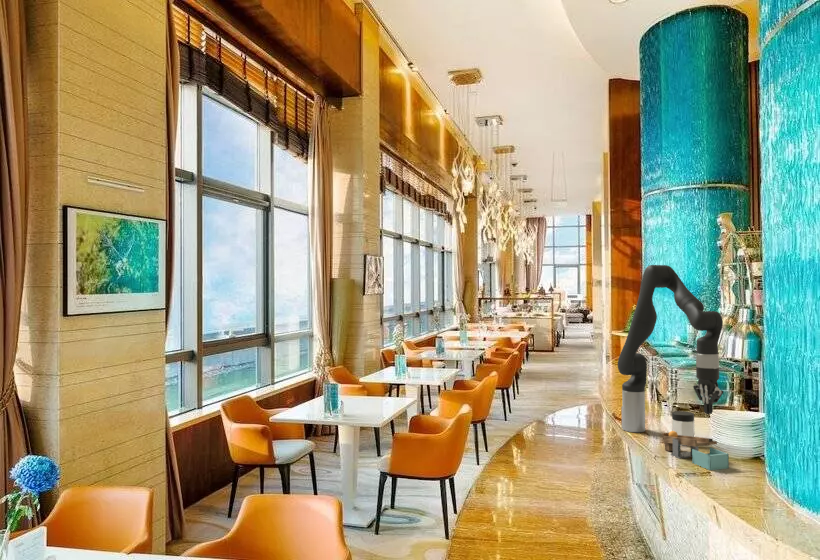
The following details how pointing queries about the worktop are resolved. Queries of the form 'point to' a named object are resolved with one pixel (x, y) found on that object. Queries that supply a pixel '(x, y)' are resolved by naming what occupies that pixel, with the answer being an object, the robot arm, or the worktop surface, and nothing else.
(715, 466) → the box
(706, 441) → the lever
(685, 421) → the jar
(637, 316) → the robot arm
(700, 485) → the worktop surface
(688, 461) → the worktop surface
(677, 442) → the fulcrum
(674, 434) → the ball
